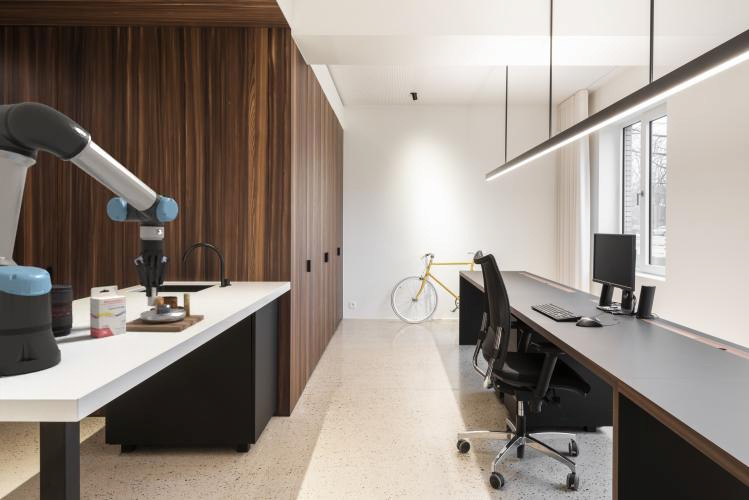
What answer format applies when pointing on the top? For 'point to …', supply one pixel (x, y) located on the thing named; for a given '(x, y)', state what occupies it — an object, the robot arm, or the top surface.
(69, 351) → the top surface
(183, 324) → the walnut base
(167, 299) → the cup and saucer
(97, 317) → the ink cartridge box
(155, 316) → the flange plate
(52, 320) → the camera lens
